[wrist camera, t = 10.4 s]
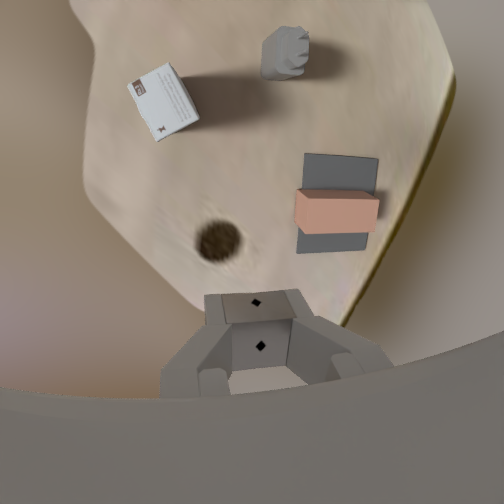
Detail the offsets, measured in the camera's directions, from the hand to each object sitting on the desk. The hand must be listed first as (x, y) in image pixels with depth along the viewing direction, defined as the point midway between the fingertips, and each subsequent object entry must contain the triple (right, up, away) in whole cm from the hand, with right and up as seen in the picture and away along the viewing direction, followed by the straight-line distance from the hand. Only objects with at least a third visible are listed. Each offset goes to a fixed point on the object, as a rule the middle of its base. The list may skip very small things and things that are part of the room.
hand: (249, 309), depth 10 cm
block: (+6, +7, +30) cm, 31 cm away
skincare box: (-9, +19, +24) cm, 32 cm away
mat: (+12, +8, +33) cm, 36 cm away
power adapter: (+3, +25, +24) cm, 35 cm away
